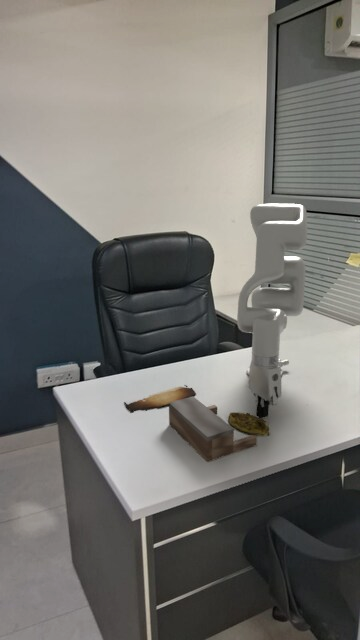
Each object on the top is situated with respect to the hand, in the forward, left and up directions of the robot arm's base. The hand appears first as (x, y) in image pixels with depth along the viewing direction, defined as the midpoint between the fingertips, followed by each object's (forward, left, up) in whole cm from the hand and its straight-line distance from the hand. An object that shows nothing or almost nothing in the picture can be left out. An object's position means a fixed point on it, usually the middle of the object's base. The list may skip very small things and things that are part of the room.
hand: (262, 416), depth 142 cm
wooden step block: (+18, 0, -1) cm, 18 cm away
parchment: (+20, -26, -2) cm, 33 cm away
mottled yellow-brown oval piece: (+5, +1, -2) cm, 6 cm away
